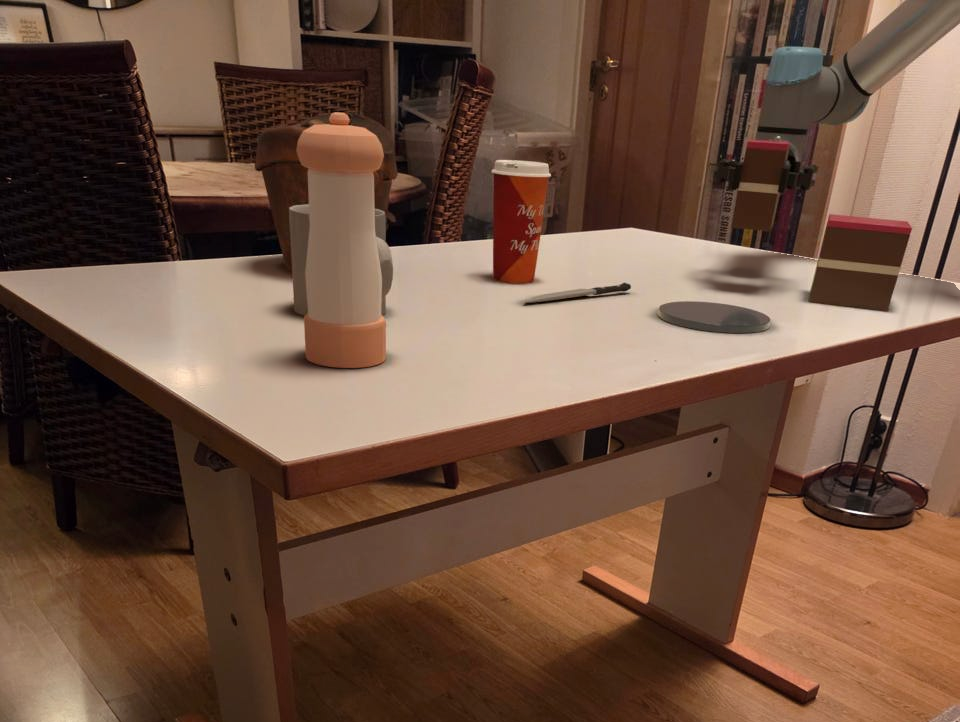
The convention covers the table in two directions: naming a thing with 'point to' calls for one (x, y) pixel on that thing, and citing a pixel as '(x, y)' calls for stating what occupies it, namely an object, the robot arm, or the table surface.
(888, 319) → the table surface
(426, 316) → the table surface
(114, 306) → the table surface
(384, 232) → the coffee mug
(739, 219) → the cake slice
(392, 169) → the flower pot
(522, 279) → the paper cup
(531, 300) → the chef's knife
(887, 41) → the robot arm
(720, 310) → the cake plate
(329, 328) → the salt shaker
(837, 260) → the cake
